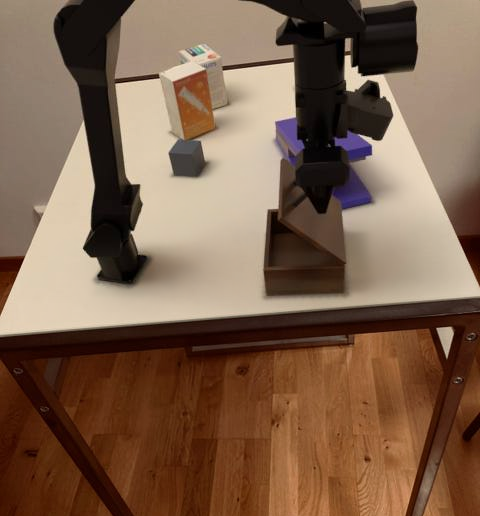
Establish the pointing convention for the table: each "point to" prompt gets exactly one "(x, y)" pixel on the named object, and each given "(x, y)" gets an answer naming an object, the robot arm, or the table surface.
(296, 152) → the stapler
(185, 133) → the small box
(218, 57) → the light bulb box
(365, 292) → the table surface
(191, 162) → the block
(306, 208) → the lid
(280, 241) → the chest
